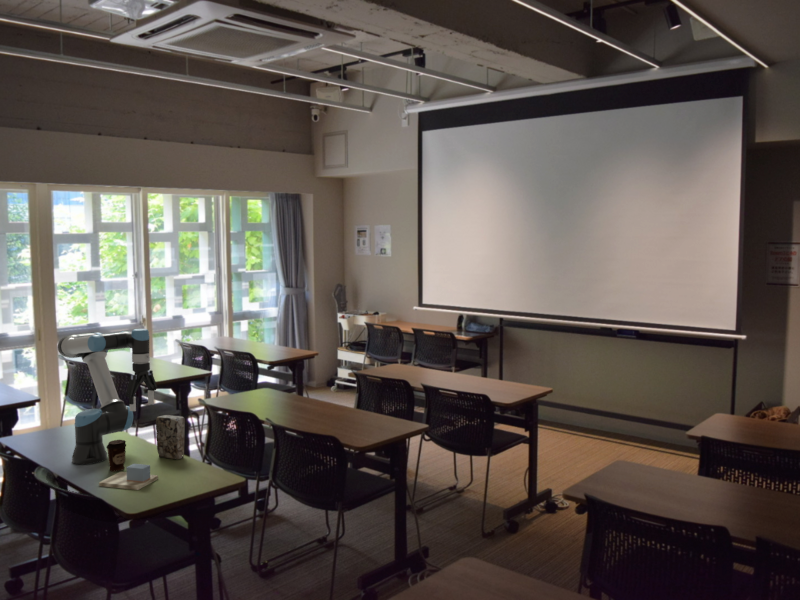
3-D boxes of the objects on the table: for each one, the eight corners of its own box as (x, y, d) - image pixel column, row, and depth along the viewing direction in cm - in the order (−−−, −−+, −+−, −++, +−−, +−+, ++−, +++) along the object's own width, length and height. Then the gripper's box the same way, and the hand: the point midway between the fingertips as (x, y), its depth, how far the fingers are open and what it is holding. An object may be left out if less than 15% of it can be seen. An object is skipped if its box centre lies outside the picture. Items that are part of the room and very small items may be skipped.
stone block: (186, 456, 324) (185, 415, 323) (178, 460, 318) (177, 419, 316) (163, 454, 328) (162, 413, 327) (154, 458, 321) (153, 417, 320)
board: (98, 485, 284) (98, 482, 284) (120, 475, 298) (120, 471, 297) (138, 490, 279) (138, 486, 279) (158, 478, 293) (157, 475, 293)
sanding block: (126, 480, 286) (126, 467, 285) (134, 477, 291) (133, 463, 290) (143, 482, 284) (142, 468, 283) (150, 478, 289) (150, 465, 288)
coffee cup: (131, 467, 307) (130, 440, 306) (118, 473, 300) (117, 445, 299) (116, 465, 310) (115, 438, 309) (103, 471, 302) (102, 443, 301)
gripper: (130, 367, 297) (132, 414, 299) (164, 358, 321) (165, 402, 323) (116, 366, 299) (117, 413, 301) (150, 357, 323) (151, 400, 325)
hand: (142, 407), depth 312 cm, fingers open, 13 cm apart
